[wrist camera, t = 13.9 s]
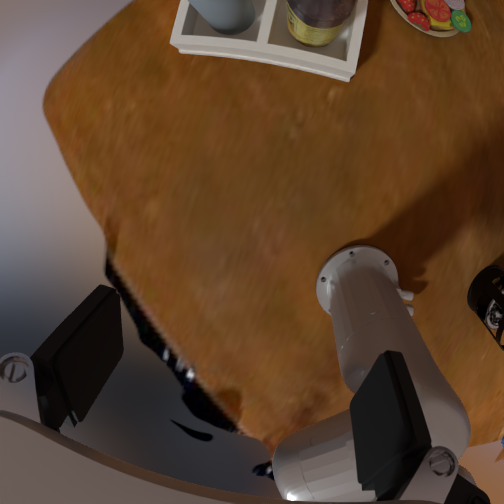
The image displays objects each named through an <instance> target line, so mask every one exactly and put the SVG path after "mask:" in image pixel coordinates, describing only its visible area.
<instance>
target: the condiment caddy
mask: <svg viewBox="0 0 504 504" xmlns="http://www.w3.org/2000/svg"><path fill="white" fill-rule="evenodd" d="M367 5H368V0H356V2H355V6H354V8H353V10H352V11H351V15H350V17H349V18H348V20H347V21H346V23H345V24H344V26H343V27H342V29H341V31H340V32H339V34H338V35H337V37H336V38H335V39H334V40H333V41H332V42H331V43H329V44H328V45H327V46H324V47H307V46H304V45H302V44H301V43H299V42H298V41H297V40H296V39H295V38H294V37H293V36H292V35H291V33H290V31H289V29H288V24H287V6H286V0H181V2H180V5H179V9H178V12H177V16H176V20H175V24H174V27H173V31H172V36H171V40H170V44H171V45H173V46H175V47H176V48H178V49H179V52H180V53H182V54H197V55H209V56H219V57H228V58H236V59H243V60H250V61H257V62H263V63H268V64H274V65H279V66H284V67H289V68H294V69H298V70H303V71H307V72H311V73H316V74H320V75H323V76H327V77H331V78H335V79H338V80H342V81H345V82H349V81H350V77H351V76H353V75H354V74H355V71H356V66H357V61H358V56H359V51H360V46H361V40H362V35H363V29H364V23H365V18H366V11H367Z"/></svg>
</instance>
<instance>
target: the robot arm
mask: <svg viewBox="0 0 504 504" xmlns="http://www.w3.org/2000/svg"><path fill="white" fill-rule="evenodd" d="M351 251H353V252H352V253H350V252H351ZM385 260H386V261H385ZM322 277H324V278H322ZM316 292H317V298H318V300H319V303H320V305H321V306H322V308H323V309H324V310H325V311H326V312H327V313H328V314H329V315H331V317H332V322H333V328H334V334H335V340H336V346H337V353H338V359H339V365H340V371H341V375H342V378H343V380H344V382H345V384H346V385H347V387H348V388H349V389H350V390H351V391H352V392H353V393H354V394H355V395H354V397H353V398H352V400H351V403H350V408H349V409H348V410H345V411H343V412H341V413H339V414H336V415H334V416H332V417H329V418H327V419H324V420H322V421H319V422H317V423H314V424H312V425H310V426H307V427H305V428H302V429H300V430H298V431H295V432H293V433H292V434H290V435H288V436H287V437H285V438H284V439H283V440H282V441H281V442H280V443H279V445H278V446H277V448H276V450H275V453H274V456H273V474H274V478H275V482H276V484H277V487H278V489H279V491H280V493H281V495H282V497H283V499H275V498H266V497H259V496H251V495H245V494H239V493H234V492H228V491H223V490H218V489H213V488H209V487H204V486H200V485H196V484H192V483H188V482H185V481H181V480H177V479H174V478H170V477H167V476H164V475H160V474H157V473H154V472H151V471H148V470H145V469H142V468H139V467H137V466H134V465H131V464H128V463H126V462H123V461H120V460H118V459H116V458H113V457H111V456H108V455H106V454H104V453H101V452H99V451H97V450H94V449H92V448H90V447H87V446H85V445H83V444H81V443H79V442H77V441H74V440H72V439H70V438H68V437H66V436H64V435H62V434H61V432H60V428H59V427H61V425H62V424H63V422H64V423H66V424H68V425H70V426H72V427H75V425H76V424H77V422H82V421H83V420H84V418H85V416H86V415H87V413H88V411H89V409H90V408H91V406H92V404H93V403H94V401H95V399H96V398H97V396H98V394H99V393H100V391H101V390H102V388H103V386H104V384H105V383H106V381H107V380H108V378H109V376H110V375H111V373H112V372H113V370H114V369H115V367H116V365H117V364H118V362H119V361H120V359H121V357H122V354H123V350H124V347H123V337H122V324H121V307H120V295H119V294H117V293H116V290H115V289H114V288H111V287H108V286H105V285H99V286H98V287H97V288H96V289H95V290H94V291H93V292H92V293H91V294H90V295H89V296H88V297H87V298H86V299H85V300H84V301H83V302H82V303H81V304H80V305H79V306H78V307H77V308H76V309H75V310H74V311H73V312H72V313H71V314H70V315H69V316H68V317H67V318H66V319H65V320H64V321H63V322H62V323H61V324H60V325H59V326H58V327H57V328H56V329H55V331H53V333H52V334H51V335H50V336H49V337H48V338H47V339H46V340H45V341H44V342H43V344H42V345H41V346H40V347H39V348H38V349H37V350H36V352H35V353H34V354H33V355H32V356H31V357H30V358H29V357H27V356H26V355H25V354H21V353H10V354H7V355H5V356H3V357H2V358H1V359H0V504H490V499H489V497H488V496H487V494H486V493H485V492H483V491H482V490H481V489H479V488H478V487H477V485H476V483H475V481H474V479H473V477H472V475H471V473H470V472H469V471H468V470H467V469H466V468H464V467H462V466H461V465H458V460H459V458H460V457H461V456H462V455H463V453H464V452H465V450H466V448H467V446H468V444H469V441H470V436H471V425H470V421H469V417H468V415H467V412H466V409H465V407H464V406H463V404H462V402H461V400H460V398H459V397H458V396H457V394H456V393H455V391H454V390H453V388H452V387H451V385H450V384H449V383H448V381H447V380H446V378H445V377H444V375H443V374H442V373H441V371H440V369H439V368H438V366H437V365H436V363H435V361H434V360H433V358H432V356H431V354H430V352H429V350H428V348H427V346H426V345H425V343H424V341H423V339H422V337H421V335H420V333H419V331H418V329H417V327H416V325H415V323H414V321H413V319H412V317H411V316H412V315H413V312H414V306H413V305H410V304H405V303H404V302H403V300H402V299H405V300H410V301H411V300H412V299H413V292H412V291H407V290H401V288H400V286H399V285H398V272H397V269H396V266H395V264H394V263H393V261H392V260H391V258H390V257H389V256H388V255H387V254H386V253H385V252H383V251H382V250H380V249H378V248H376V247H373V246H369V245H355V246H350V247H347V248H344V249H342V250H340V251H338V252H336V253H335V254H334V255H332V256H331V257H330V258H329V259H328V260H327V261H326V262H325V263H324V265H323V266H322V268H321V269H320V271H319V274H318V277H317V282H316Z"/></svg>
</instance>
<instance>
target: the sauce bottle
mask: <svg viewBox="0 0 504 504" xmlns="http://www.w3.org/2000/svg"><path fill="white" fill-rule="evenodd" d="M355 2H356V0H286V6H287V24H288V29H289V31H290V33H291V35H292V36H293V37H294V38H295V39H296V40H297V41H298V42H299V43H301V44H302V45H304V46H307V47H324V46H327V45H328V44H329V43H331V42H332V41H333V40H334V39H335V38H336V37H337V35H338V34H339V32H340V31H341V29H342V27H343V26H344V24H345V23H346V21H347V20H348V18H349V17H350V15H351V11H352V10H353V8H354V6H355Z"/></svg>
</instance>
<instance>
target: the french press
mask: <svg viewBox="0 0 504 504" xmlns="http://www.w3.org/2000/svg"><path fill="white" fill-rule="evenodd" d="M498 277H501V279H502V287H501V289H500V290H499V289H498V288H497V287H496V286H495V285H494V284H493V283H492V281H493V280H494V279H496V278H498ZM484 289H485V290H486V291H487V292H488V294H489V295H490V296H491V297H492V299H491V300H490V302H489V304H488V305H487V306H484V307H480V306H478V301H479V298H480V296H481V294H482V292H483V290H484ZM467 301H468V305H469V307H470V308H471V309H472V310H473V311H474V312H475V313H476V314H477V316H478V317H479V318H480V320H481V321H482V322H483V324H484V325H485V326H486V328H487V329H488V331H489V332H490V333H491V335H492V336H493V338H494V339H495V340H496V342H497V343H498V345H499V346H500V348H501V349H502V350H503V351H504V345H501V343H500V341H501V336H502V332H503V330H504V269H503V268H501V267H500V266H489V267H487V268H485V269H484V270H482V271H481V272H480V273H479V274H478V275H477V276H476V277H475V278H474V280H473V282H472V283H471V285H470V288H469V291H468V296H467ZM483 320H484V321H485V322H486V324H485V322H484V321H483ZM488 327H489V328H490V329H493V330H496V329H497V332H496V337H495V336H494V335H493V333H492V332H491V330H490V329H489V328H488Z"/></svg>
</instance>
